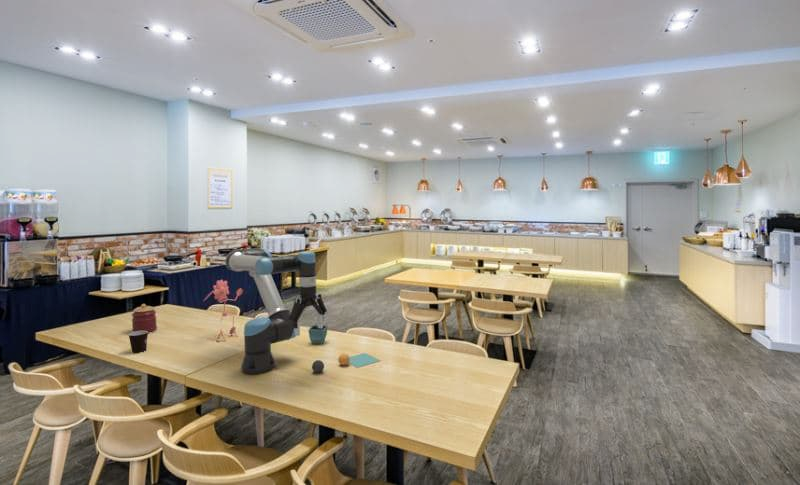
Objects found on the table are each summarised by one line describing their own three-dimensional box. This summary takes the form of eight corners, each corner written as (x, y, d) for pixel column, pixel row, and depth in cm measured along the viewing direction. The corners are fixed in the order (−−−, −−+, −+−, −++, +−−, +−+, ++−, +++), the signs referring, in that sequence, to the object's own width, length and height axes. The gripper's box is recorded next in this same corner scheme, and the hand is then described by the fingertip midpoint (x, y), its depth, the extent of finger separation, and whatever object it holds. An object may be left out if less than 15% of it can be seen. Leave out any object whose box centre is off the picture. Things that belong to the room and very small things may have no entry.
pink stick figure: (248, 333, 246) (245, 276, 244) (215, 346, 222) (211, 284, 220) (229, 331, 252) (226, 276, 250) (194, 343, 228) (191, 282, 226)
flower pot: (328, 340, 232) (327, 325, 231) (323, 345, 223) (323, 329, 223) (313, 340, 233) (313, 325, 232) (308, 345, 224) (308, 329, 224)
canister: (134, 330, 253) (133, 302, 252) (158, 327, 258) (157, 300, 257) (130, 335, 241) (129, 307, 240) (155, 333, 247) (154, 305, 245)
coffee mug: (139, 354, 209) (138, 335, 208) (125, 353, 211) (124, 334, 210) (157, 347, 221) (156, 329, 220) (143, 346, 222) (142, 328, 222)
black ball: (315, 375, 182) (315, 363, 182) (310, 371, 187) (309, 360, 186) (326, 372, 186) (326, 360, 185) (320, 368, 190) (320, 357, 190)
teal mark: (357, 367, 191) (357, 367, 191) (342, 359, 202) (342, 359, 202) (380, 360, 200) (380, 360, 200) (364, 353, 211) (364, 352, 211)
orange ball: (342, 367, 191) (342, 356, 191) (336, 364, 195) (336, 353, 195) (351, 365, 195) (351, 354, 194) (345, 361, 199) (345, 351, 198)
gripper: (290, 290, 170) (292, 339, 171) (333, 282, 190) (334, 326, 191) (279, 289, 174) (281, 336, 175) (322, 281, 194) (323, 324, 196)
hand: (309, 331), depth 183 cm, fingers open, 13 cm apart
